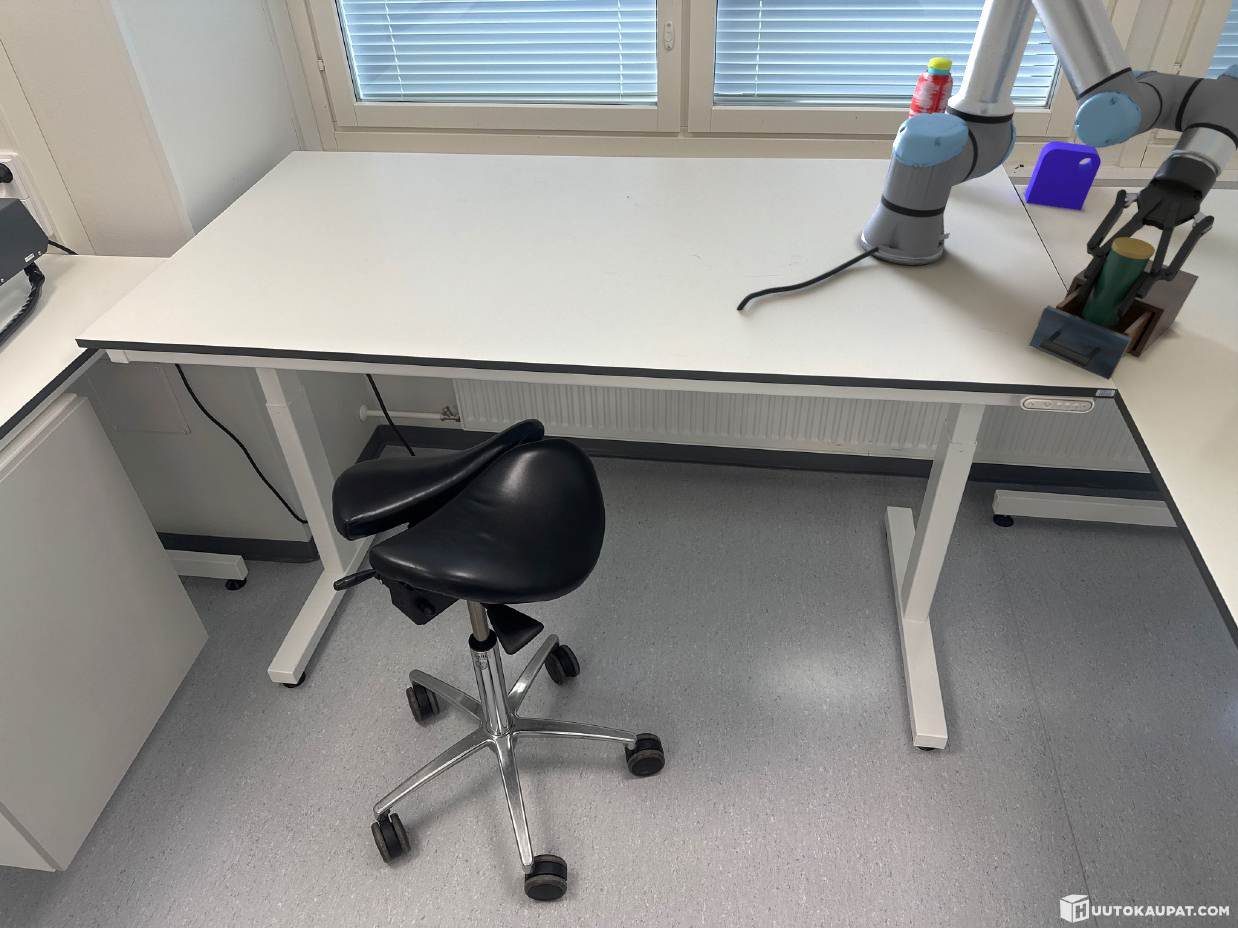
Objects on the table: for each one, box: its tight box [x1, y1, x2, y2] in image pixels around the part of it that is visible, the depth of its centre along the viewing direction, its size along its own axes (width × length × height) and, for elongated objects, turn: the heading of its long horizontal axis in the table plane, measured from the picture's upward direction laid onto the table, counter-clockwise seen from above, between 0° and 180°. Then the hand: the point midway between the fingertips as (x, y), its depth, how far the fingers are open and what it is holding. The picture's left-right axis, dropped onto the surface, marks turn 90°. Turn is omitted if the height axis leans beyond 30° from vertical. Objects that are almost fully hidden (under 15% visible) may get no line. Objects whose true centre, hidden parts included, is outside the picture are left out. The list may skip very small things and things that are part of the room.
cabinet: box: [1064, 259, 1200, 359], centre depth 132 cm, size 16×14×9 cm
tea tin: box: [1082, 237, 1156, 326], centre depth 120 cm, size 6×6×12 cm
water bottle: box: [908, 57, 954, 119], centre depth 173 cm, size 12×8×25 cm, turn 176°
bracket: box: [1024, 140, 1102, 211], centre depth 173 cm, size 18×11×12 cm, turn 163°
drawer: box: [1028, 285, 1155, 381], centre depth 124 cm, size 20×13×7 cm, turn 134°
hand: (1099, 305), depth 120 cm, fingers closed on tea tin, 5 cm apart
